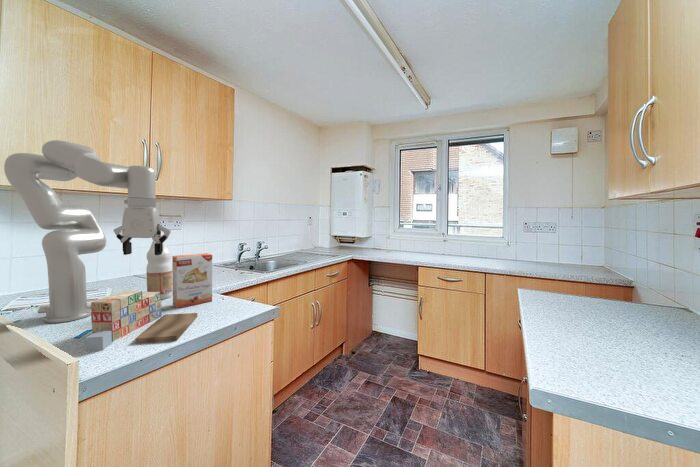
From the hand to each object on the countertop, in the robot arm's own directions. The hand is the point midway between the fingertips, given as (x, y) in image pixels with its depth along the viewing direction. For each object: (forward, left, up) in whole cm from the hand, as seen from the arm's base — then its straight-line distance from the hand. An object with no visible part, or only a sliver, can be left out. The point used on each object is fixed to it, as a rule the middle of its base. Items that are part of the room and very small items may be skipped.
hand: (143, 254), depth 95 cm
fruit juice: (-8, +33, -24) cm, 42 cm away
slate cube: (-4, -16, -24) cm, 30 cm away
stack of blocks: (-3, -2, -25) cm, 25 cm away
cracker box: (+9, +22, -24) cm, 34 cm away
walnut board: (+10, -5, -24) cm, 27 cm away
